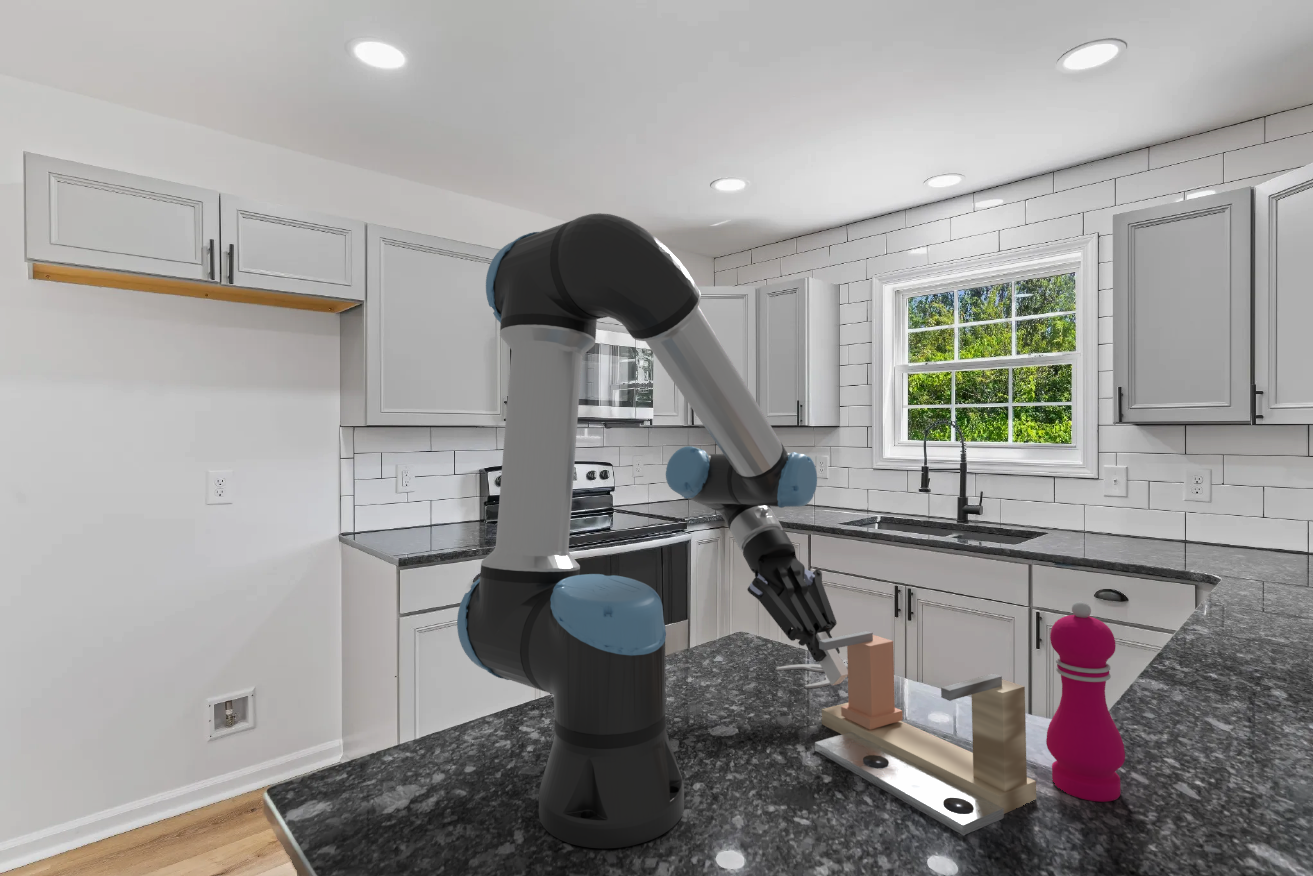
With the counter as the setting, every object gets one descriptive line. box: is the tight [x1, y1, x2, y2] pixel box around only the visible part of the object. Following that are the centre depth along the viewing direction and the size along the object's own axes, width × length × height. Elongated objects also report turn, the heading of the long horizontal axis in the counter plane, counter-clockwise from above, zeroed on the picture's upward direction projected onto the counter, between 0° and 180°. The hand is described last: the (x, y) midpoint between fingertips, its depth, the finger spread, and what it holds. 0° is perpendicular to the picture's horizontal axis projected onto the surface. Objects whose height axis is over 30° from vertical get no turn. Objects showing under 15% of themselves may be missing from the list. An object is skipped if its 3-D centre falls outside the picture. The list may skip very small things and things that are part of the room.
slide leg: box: [819, 630, 904, 730], centre depth 87 cm, size 11×5×11 cm, turn 118°
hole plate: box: [814, 732, 1005, 836], centre depth 76 cm, size 6×21×1 cm, turn 28°
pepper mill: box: [1045, 601, 1126, 803], centre depth 74 cm, size 7×7×20 cm
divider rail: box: [821, 673, 1037, 815], centre depth 80 cm, size 11×26×13 cm, turn 28°
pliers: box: [775, 658, 848, 690], centre depth 112 cm, size 10×2×15 cm
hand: (840, 679), depth 93 cm, fingers closed
